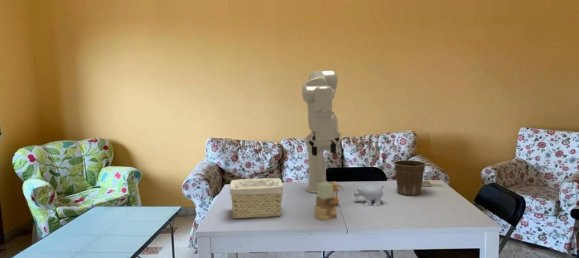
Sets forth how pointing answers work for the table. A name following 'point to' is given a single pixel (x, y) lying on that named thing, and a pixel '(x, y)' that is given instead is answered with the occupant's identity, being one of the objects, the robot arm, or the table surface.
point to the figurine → (336, 192)
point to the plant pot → (409, 176)
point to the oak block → (325, 213)
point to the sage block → (325, 190)
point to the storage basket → (256, 197)
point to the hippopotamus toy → (370, 194)
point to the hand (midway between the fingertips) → (324, 154)
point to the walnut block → (325, 203)
